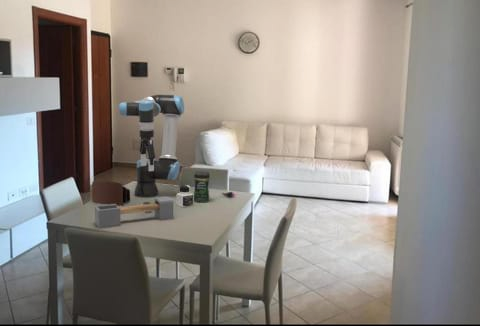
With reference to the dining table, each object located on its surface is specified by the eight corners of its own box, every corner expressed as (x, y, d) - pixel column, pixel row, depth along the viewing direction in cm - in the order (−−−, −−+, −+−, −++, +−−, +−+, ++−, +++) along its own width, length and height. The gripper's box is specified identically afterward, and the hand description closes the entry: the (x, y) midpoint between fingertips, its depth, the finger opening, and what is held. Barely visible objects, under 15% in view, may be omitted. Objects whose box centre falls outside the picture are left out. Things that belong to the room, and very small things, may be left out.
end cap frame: (95, 223, 235) (94, 203, 234) (167, 214, 254) (167, 196, 252) (98, 228, 228) (98, 208, 226) (173, 218, 246) (173, 200, 244)
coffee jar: (192, 202, 279) (193, 172, 275) (194, 199, 286) (194, 170, 283) (208, 203, 278) (209, 173, 275) (209, 199, 286) (210, 170, 283)
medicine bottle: (182, 207, 267) (183, 187, 265) (176, 205, 272) (176, 185, 270) (193, 205, 272) (193, 186, 269) (186, 203, 277) (186, 183, 275)
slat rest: (107, 215, 249) (107, 206, 248) (148, 210, 260) (148, 201, 259) (109, 217, 245) (109, 208, 244) (151, 212, 256) (151, 204, 255)
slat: (112, 213, 236) (112, 208, 236) (164, 207, 250) (164, 202, 249) (114, 215, 233) (113, 210, 232) (166, 209, 246) (166, 204, 246)
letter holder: (122, 206, 267) (122, 182, 265) (92, 203, 272) (91, 180, 269) (130, 202, 277) (130, 179, 274) (100, 199, 281) (100, 176, 279)
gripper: (133, 127, 256) (134, 164, 261) (146, 133, 235) (147, 173, 240) (146, 126, 260) (147, 163, 265) (161, 132, 239) (161, 172, 243)
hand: (147, 168), depth 252 cm, fingers open, 13 cm apart
